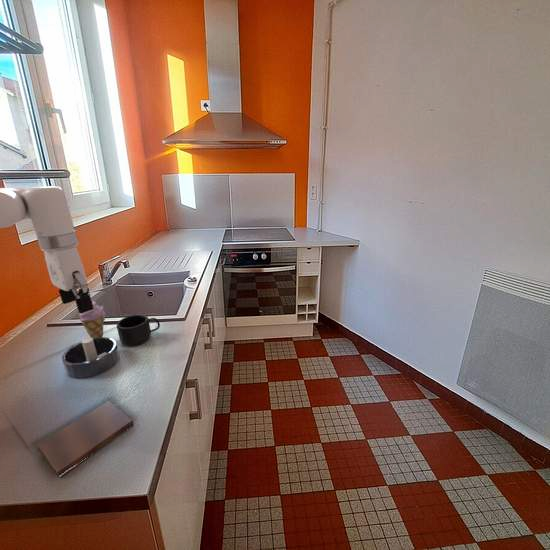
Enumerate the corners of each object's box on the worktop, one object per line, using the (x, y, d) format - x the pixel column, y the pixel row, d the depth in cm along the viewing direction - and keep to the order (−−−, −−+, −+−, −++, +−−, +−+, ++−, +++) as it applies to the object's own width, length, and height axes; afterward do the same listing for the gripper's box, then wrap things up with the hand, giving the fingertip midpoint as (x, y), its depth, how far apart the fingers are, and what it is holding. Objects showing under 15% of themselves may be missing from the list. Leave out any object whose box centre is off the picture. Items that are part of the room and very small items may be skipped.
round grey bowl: (79, 387, 76) (74, 371, 74) (59, 369, 83) (54, 353, 81) (128, 361, 85) (124, 346, 83) (106, 347, 92) (102, 332, 91)
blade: (81, 372, 80) (74, 348, 78) (76, 368, 82) (69, 345, 79) (109, 358, 86) (104, 335, 83) (105, 355, 87) (99, 332, 85)
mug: (122, 352, 89) (117, 331, 87) (119, 338, 97) (115, 319, 94) (164, 340, 95) (160, 320, 93) (158, 328, 102) (155, 309, 100)
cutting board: (59, 478, 53) (57, 472, 53) (39, 449, 59) (36, 444, 58) (134, 425, 64) (132, 420, 63) (110, 405, 70) (109, 400, 69)
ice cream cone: (109, 337, 98) (99, 294, 93) (115, 344, 93) (104, 300, 88) (86, 345, 94) (73, 301, 88) (91, 353, 89) (78, 308, 84)
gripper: (27, 240, 73) (48, 303, 79) (54, 250, 63) (76, 321, 69) (61, 234, 79) (79, 293, 85) (92, 242, 69) (109, 309, 75)
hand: (77, 306), depth 77 cm, fingers open, 9 cm apart
